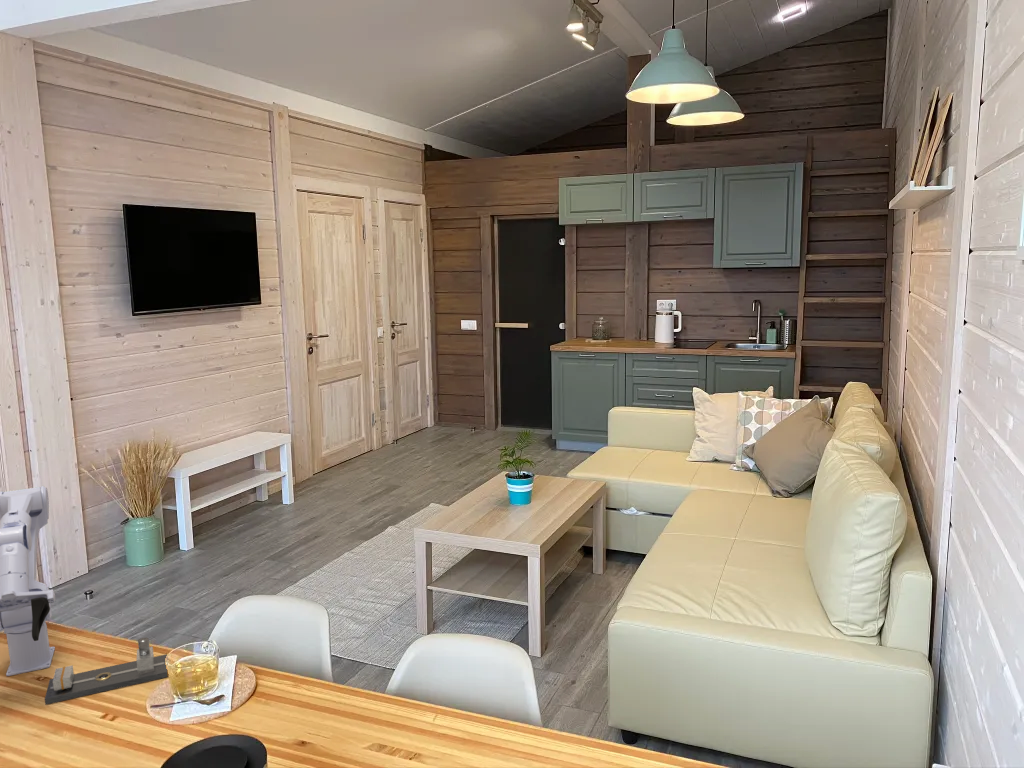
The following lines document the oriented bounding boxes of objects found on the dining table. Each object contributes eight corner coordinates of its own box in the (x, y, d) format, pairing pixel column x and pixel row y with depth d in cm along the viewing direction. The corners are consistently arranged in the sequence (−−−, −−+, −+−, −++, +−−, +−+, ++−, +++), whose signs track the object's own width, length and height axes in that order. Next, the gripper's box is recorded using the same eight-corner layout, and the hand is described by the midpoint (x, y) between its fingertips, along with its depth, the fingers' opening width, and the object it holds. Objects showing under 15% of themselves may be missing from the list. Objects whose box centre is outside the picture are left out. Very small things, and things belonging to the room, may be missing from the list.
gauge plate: (50, 684, 157) (46, 651, 156) (167, 659, 166) (164, 627, 165) (45, 704, 150) (40, 669, 148) (167, 677, 159) (164, 644, 157)
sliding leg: (57, 678, 156) (55, 668, 156) (73, 675, 157) (72, 664, 157) (54, 691, 151) (52, 680, 151) (71, 687, 153) (70, 676, 152)
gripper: (-37, 579, 147) (-40, 646, 140) (49, 562, 153) (51, 625, 146) (-28, 595, 153) (-30, 660, 145) (56, 578, 159) (58, 640, 151)
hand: (11, 644), depth 146 cm, fingers open, 7 cm apart
